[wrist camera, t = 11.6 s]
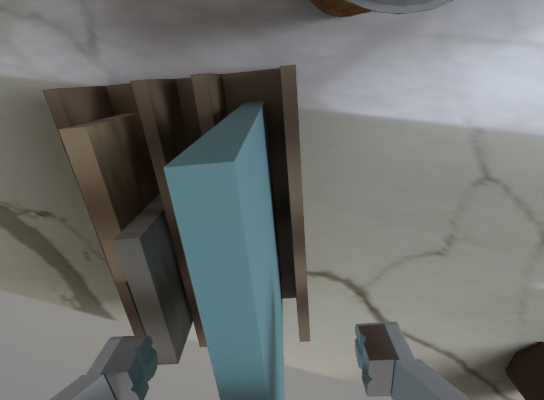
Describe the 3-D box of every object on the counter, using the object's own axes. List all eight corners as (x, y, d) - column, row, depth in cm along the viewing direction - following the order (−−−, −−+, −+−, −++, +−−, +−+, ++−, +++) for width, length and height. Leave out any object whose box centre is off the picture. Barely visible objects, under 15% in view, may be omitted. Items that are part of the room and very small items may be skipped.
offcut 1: (119, 114, 21) (58, 129, 15) (139, 112, 21) (85, 126, 15) (153, 233, 25) (115, 282, 19) (170, 232, 25) (137, 280, 19)
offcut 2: (164, 188, 24) (113, 240, 16) (182, 187, 23) (139, 238, 16) (189, 287, 27) (157, 364, 20) (204, 286, 27) (178, 363, 20)
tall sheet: (243, 102, 21) (163, 167, 6) (264, 100, 21) (234, 161, 6) (265, 282, 27) (252, 528, 12) (281, 281, 27) (287, 528, 12)
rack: (106, 86, 22) (42, 90, 16) (291, 67, 21) (297, 64, 15) (167, 294, 30) (140, 350, 24) (304, 286, 29) (311, 341, 23)
